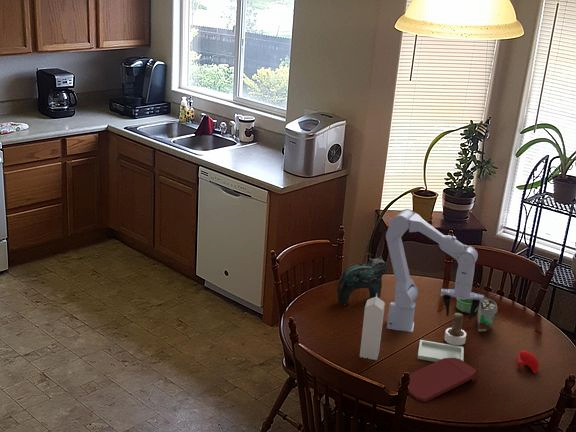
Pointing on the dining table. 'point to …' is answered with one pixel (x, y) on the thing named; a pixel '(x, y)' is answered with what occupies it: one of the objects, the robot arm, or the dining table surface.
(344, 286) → the ceramic cat
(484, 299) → the food container
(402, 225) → the robot arm
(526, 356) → the red helmet
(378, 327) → the milk
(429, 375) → the dark red slab
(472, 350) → the dining table surface
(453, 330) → the dowel
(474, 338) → the dining table surface
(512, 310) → the dining table surface
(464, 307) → the ramekin
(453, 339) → the cup
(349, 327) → the dining table surface
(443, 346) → the tray
